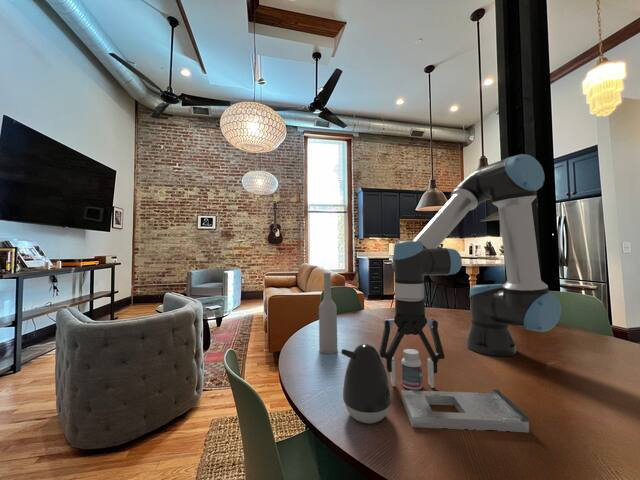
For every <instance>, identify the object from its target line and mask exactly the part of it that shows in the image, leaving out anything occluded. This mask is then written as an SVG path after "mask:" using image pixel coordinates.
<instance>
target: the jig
mask: <svg viewBox="0 0 640 480" xmlns="http://www.w3.org/2000/svg"><path fill="white" fill-rule="evenodd" d="M401 400H402V403H403V406H404V410H405V411H406V414H407V417H408V419H409V422H410V425H411V427H412V428H423V429H424V428H425V429H442V428H446V430H464V429H468V430H469V431H485V430H498V431H497V432H506V431H510V432H511V433H527V434H528V433H530V425H529V423H530V422H529V417H528V416H527V415H526V414H525V413H524V412H523V411H522V410H520V409H519V408H518V407H517V405H515V404H514V403H513V402H512V401H511V400H510V398H507V397H506V396H505V394H503V393H502V392H501V391H500V390H499V389H492V392H471V391H470V392H467V391H465V392H464V391H442V390H441V391H437V390H435V391H434V390H412V389H408V390H407V389H406V390H405V389H401ZM430 405H432V406H433V405H434V406H435V405H436V406H454V408H455V409H456V411H458V412H451V411H447V412H446V411H433V410H432V408H431V406H430ZM447 428H448V429H447ZM474 429H475V430H474ZM464 431H465V430H464ZM510 432H509V433H510Z"/></svg>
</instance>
